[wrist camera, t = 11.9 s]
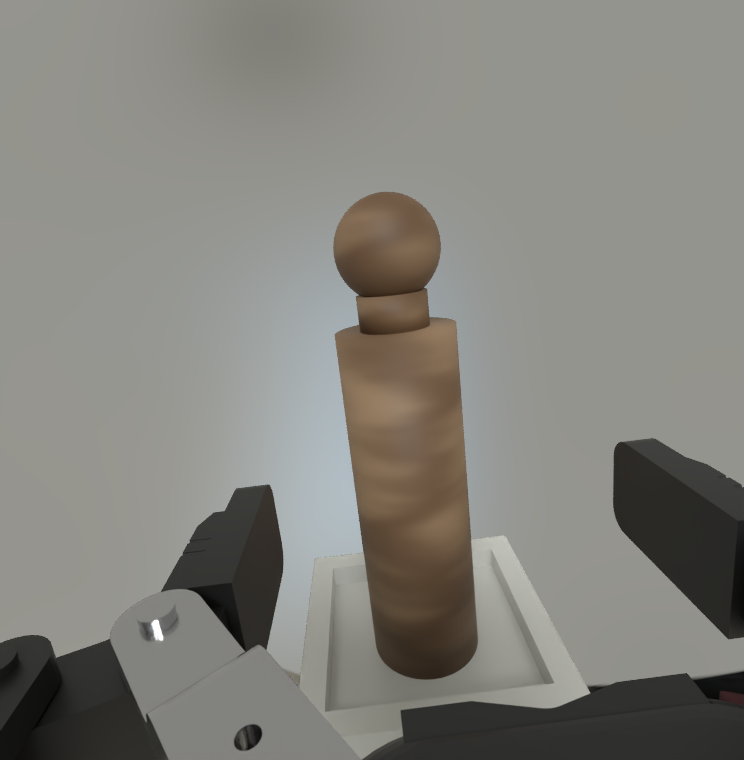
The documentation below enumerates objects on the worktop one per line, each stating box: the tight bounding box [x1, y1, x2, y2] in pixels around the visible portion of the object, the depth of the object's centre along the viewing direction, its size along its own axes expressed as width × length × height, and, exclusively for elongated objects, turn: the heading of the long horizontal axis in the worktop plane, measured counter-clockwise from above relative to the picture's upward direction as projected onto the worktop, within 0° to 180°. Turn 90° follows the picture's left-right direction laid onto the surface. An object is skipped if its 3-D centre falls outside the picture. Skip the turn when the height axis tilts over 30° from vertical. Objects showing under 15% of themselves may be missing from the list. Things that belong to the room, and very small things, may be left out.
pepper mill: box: [333, 192, 478, 680], centre depth 23 cm, size 5×5×22 cm
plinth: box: [299, 536, 590, 760], centre depth 26 cm, size 12×12×10 cm
